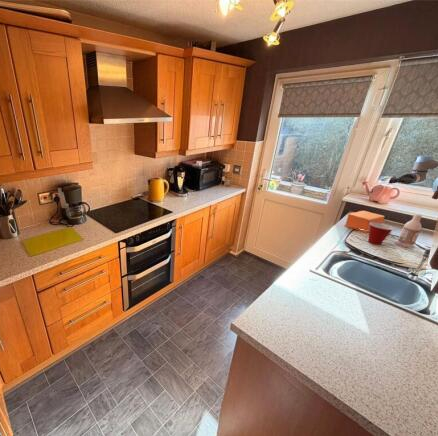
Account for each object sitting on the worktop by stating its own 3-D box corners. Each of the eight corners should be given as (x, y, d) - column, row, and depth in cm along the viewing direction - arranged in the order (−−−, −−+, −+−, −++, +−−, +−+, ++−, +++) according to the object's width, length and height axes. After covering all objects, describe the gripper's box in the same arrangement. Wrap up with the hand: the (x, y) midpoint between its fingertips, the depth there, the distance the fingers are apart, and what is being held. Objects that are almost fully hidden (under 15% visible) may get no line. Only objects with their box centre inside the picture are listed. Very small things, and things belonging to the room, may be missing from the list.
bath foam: (407, 248, 135) (421, 217, 128) (393, 243, 142) (406, 213, 134) (416, 247, 137) (430, 216, 129) (402, 242, 143) (415, 212, 136)
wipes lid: (369, 220, 153) (369, 219, 153) (348, 214, 164) (348, 213, 164) (384, 217, 159) (385, 216, 159) (363, 211, 170) (363, 210, 170)
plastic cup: (392, 246, 138) (399, 228, 134) (377, 247, 137) (384, 229, 132) (372, 238, 148) (379, 221, 144) (358, 239, 147) (364, 222, 142)
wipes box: (365, 232, 157) (369, 220, 153) (345, 225, 168) (348, 214, 164) (380, 228, 162) (384, 217, 159) (359, 222, 173) (363, 211, 170)
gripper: (419, 185, 161) (400, 188, 154) (395, 181, 173) (376, 184, 165) (424, 174, 159) (405, 177, 151) (399, 171, 170) (380, 174, 162)
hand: (390, 181), depth 158 cm, fingers closed
